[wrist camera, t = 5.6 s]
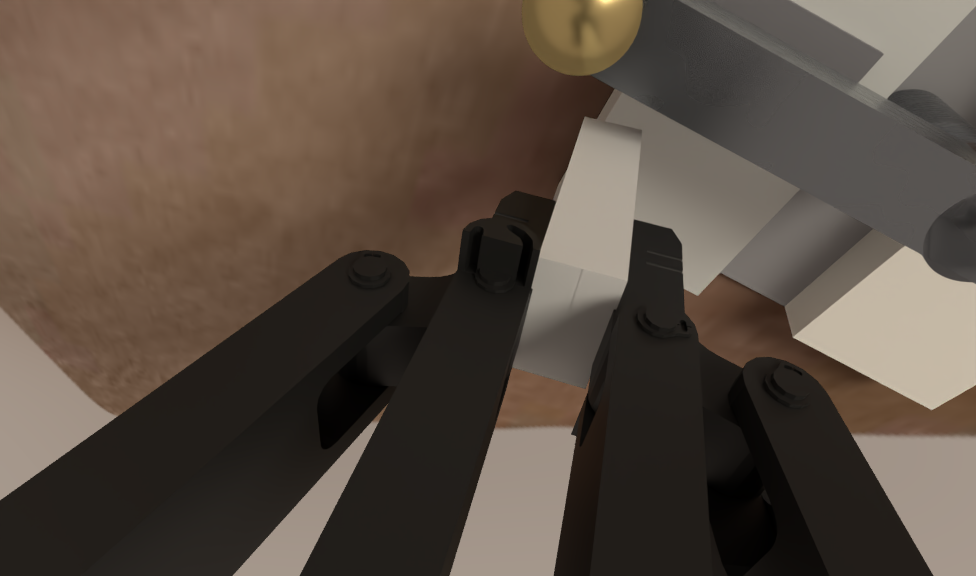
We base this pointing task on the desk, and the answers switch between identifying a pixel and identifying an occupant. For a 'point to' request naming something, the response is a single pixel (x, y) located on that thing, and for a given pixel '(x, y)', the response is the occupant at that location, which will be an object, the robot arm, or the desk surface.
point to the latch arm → (781, 114)
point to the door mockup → (813, 223)
